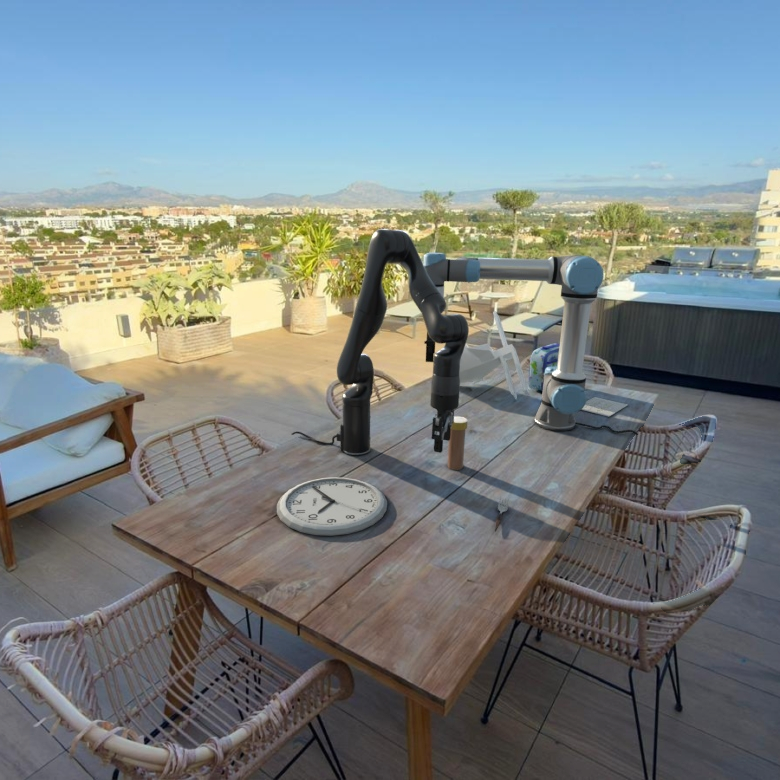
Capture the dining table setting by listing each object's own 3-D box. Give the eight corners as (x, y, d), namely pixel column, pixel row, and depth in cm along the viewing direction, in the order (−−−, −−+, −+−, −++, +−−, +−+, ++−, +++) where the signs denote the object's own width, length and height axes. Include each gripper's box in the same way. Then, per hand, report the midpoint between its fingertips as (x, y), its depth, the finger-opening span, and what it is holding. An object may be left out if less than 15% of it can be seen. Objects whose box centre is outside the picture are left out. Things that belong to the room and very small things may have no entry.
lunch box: (544, 395, 239) (549, 351, 233) (524, 390, 247) (528, 347, 240) (571, 384, 257) (577, 343, 251) (552, 380, 264) (556, 339, 258)
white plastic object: (461, 429, 252) (437, 405, 227) (444, 352, 274) (420, 323, 250) (535, 404, 240) (518, 377, 215) (510, 326, 262) (492, 293, 237)
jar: (465, 468, 166) (468, 422, 161) (451, 470, 165) (453, 424, 160) (459, 462, 170) (461, 417, 166) (445, 463, 169) (447, 418, 164)
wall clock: (392, 527, 129) (268, 531, 127) (391, 533, 130) (269, 537, 127) (383, 473, 158) (282, 475, 155) (383, 478, 158) (282, 480, 156)
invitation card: (608, 416, 214) (573, 407, 224) (608, 416, 214) (573, 408, 224) (628, 404, 229) (594, 396, 238) (628, 405, 229) (594, 397, 238)
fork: (489, 532, 131) (490, 525, 131) (499, 502, 145) (500, 496, 145) (500, 534, 130) (500, 527, 130) (509, 504, 145) (509, 497, 144)
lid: (470, 429, 162) (470, 422, 161) (452, 431, 160) (453, 423, 159) (462, 422, 167) (462, 415, 166) (445, 424, 165) (445, 417, 165)
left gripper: (438, 380, 146) (436, 434, 151) (423, 395, 134) (421, 453, 139) (465, 384, 144) (461, 438, 149) (452, 399, 131) (449, 458, 136)
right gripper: (424, 293, 195) (422, 349, 202) (419, 302, 172) (417, 365, 178) (444, 294, 195) (441, 350, 201) (442, 303, 171) (439, 366, 177)
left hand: (442, 445), depth 144 cm, fingers open, 8 cm apart
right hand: (430, 357), depth 190 cm, fingers open, 13 cm apart
